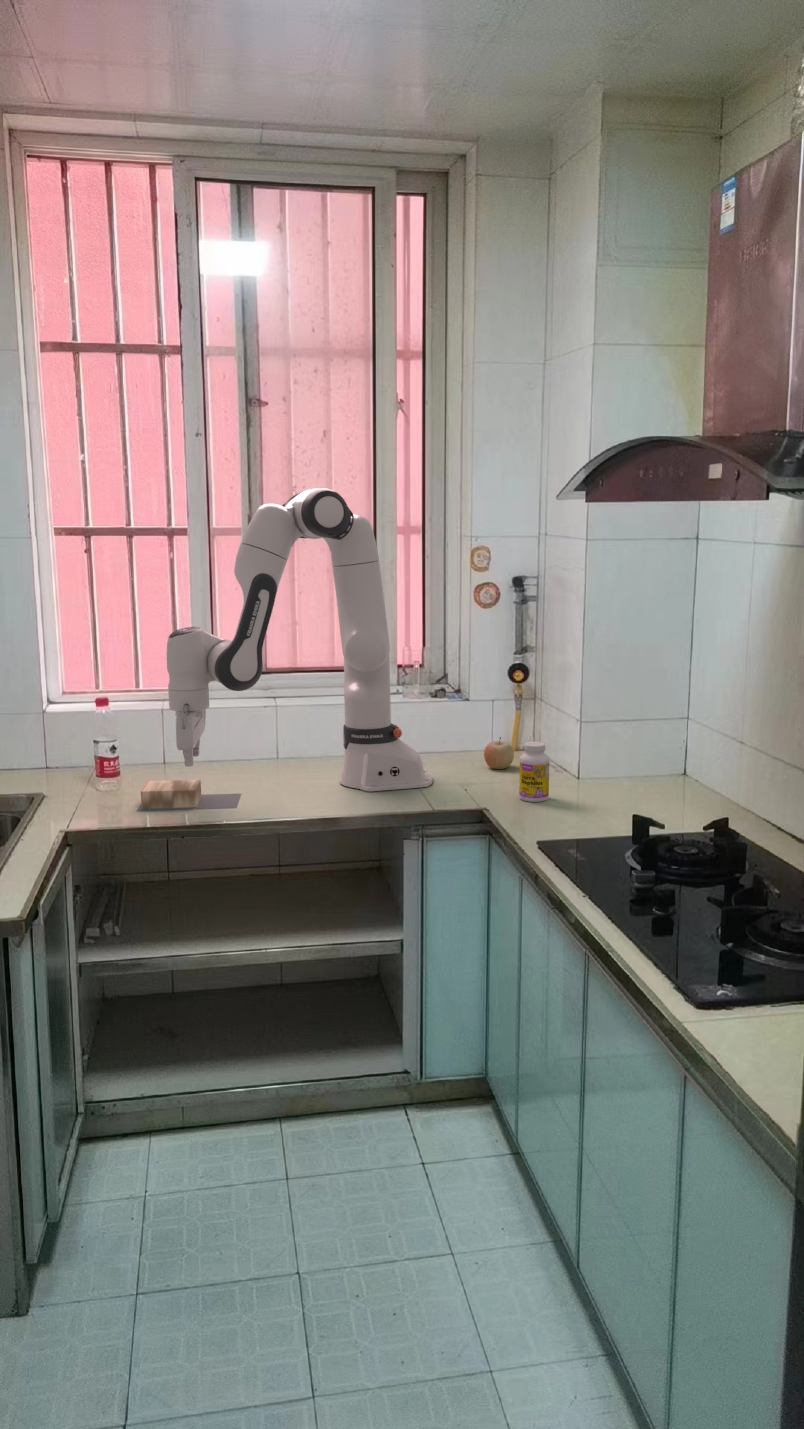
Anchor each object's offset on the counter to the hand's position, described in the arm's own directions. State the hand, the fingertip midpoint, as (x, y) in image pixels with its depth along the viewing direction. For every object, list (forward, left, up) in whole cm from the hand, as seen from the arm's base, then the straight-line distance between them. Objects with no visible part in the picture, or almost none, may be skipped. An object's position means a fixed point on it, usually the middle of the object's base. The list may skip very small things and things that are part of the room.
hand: (192, 760), depth 240 cm
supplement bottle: (-77, +4, -10) cm, 78 cm away
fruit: (-73, -25, -10) cm, 78 cm away
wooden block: (-1, 0, -8) cm, 8 cm away
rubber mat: (0, 0, -10) cm, 10 cm away
